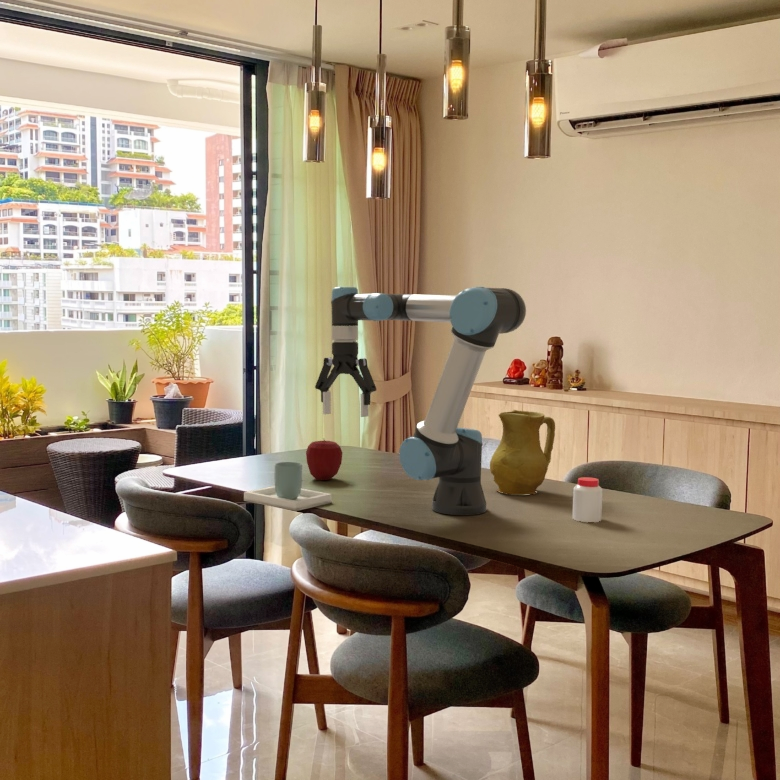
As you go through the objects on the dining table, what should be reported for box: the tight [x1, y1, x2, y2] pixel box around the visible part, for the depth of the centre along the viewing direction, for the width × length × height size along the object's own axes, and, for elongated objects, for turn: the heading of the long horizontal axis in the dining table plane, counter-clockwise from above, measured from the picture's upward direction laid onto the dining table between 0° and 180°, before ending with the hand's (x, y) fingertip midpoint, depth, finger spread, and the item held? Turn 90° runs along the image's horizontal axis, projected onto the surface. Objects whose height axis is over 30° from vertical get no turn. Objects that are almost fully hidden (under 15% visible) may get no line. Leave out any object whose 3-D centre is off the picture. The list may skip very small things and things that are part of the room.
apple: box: [305, 439, 343, 481], centre depth 313 cm, size 12×12×13 cm
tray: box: [243, 485, 333, 512], centre depth 278 cm, size 20×15×2 cm
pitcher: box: [489, 409, 556, 495], centre depth 298 cm, size 17×19×25 cm
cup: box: [273, 461, 303, 500], centre depth 278 cm, size 8×8×10 cm
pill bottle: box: [571, 476, 604, 523], centre depth 264 cm, size 8×8×11 cm
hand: (345, 415), depth 281 cm, fingers open, 13 cm apart
